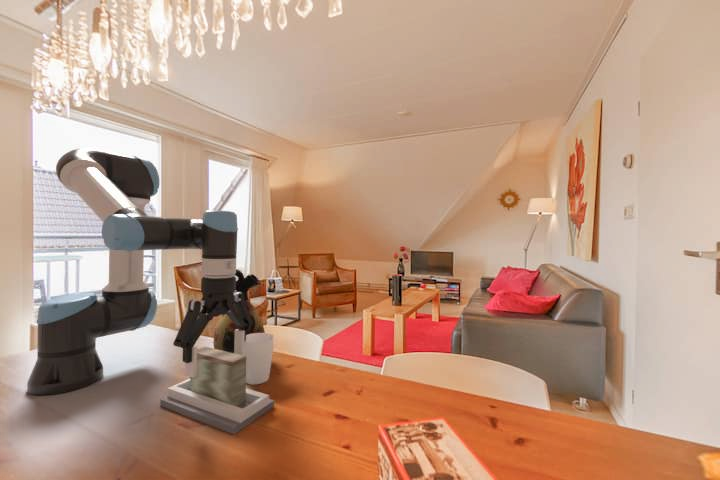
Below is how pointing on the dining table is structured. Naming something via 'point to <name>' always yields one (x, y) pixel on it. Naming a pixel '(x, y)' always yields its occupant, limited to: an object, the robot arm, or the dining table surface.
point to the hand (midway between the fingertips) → (216, 364)
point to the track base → (212, 416)
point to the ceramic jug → (225, 326)
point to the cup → (258, 357)
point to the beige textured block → (220, 376)
